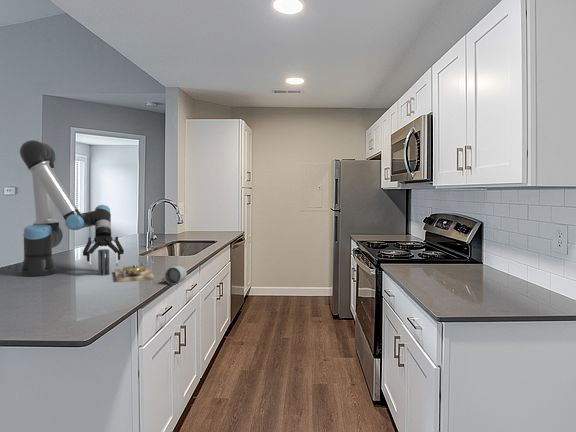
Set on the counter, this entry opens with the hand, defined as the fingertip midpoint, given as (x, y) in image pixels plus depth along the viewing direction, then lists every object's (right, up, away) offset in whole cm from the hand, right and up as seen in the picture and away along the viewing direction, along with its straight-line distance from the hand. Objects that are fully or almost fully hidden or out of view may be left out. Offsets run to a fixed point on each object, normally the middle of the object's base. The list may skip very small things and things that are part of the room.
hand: (103, 265), depth 206 cm
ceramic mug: (+37, -6, -14) cm, 40 cm away
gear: (+17, -4, -6) cm, 19 cm away
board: (+14, -5, 0) cm, 15 cm away
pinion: (-1, -5, +3) cm, 5 cm away
